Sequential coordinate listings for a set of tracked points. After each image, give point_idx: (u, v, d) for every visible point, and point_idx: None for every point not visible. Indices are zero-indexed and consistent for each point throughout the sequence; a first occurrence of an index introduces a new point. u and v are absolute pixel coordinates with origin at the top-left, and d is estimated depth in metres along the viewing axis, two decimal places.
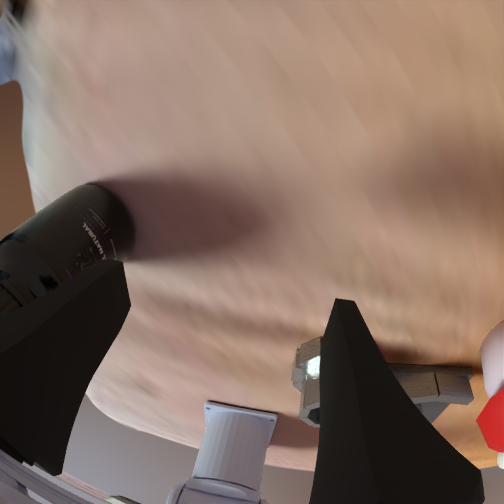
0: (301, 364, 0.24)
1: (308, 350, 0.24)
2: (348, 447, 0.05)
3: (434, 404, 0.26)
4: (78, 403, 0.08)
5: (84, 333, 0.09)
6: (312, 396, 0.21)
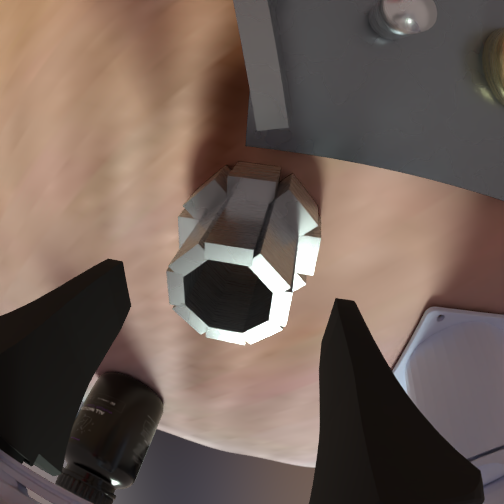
0: None
1: None
2: (348, 447, 0.05)
3: None
4: (78, 403, 0.08)
5: (84, 333, 0.09)
6: None
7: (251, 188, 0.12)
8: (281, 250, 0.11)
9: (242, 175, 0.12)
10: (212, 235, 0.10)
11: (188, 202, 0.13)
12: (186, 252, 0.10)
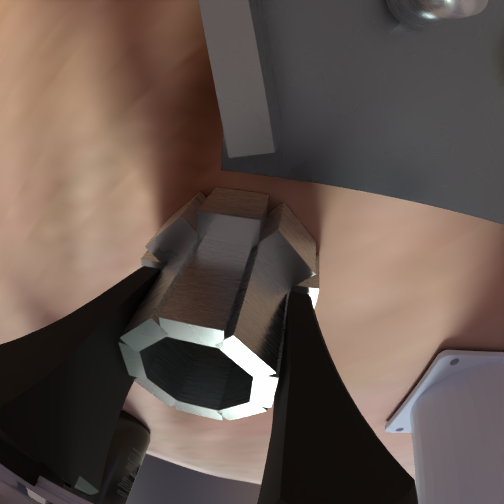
0: None
1: None
2: (278, 440, 0.06)
3: None
4: (116, 418, 0.08)
5: None
6: None
7: (228, 228, 0.10)
8: (265, 318, 0.08)
9: (217, 210, 0.10)
10: (170, 305, 0.07)
11: (151, 242, 0.10)
12: (138, 325, 0.07)
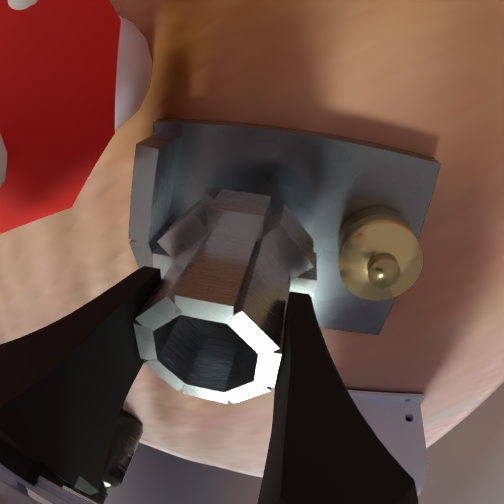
0: None
1: None
2: (278, 440, 0.06)
3: (259, 171, 0.14)
4: (116, 418, 0.08)
5: (124, 345, 0.08)
6: None
7: (234, 223, 0.11)
8: (269, 301, 0.09)
9: (224, 207, 0.11)
10: (184, 285, 0.08)
11: (163, 238, 0.11)
12: (154, 305, 0.08)
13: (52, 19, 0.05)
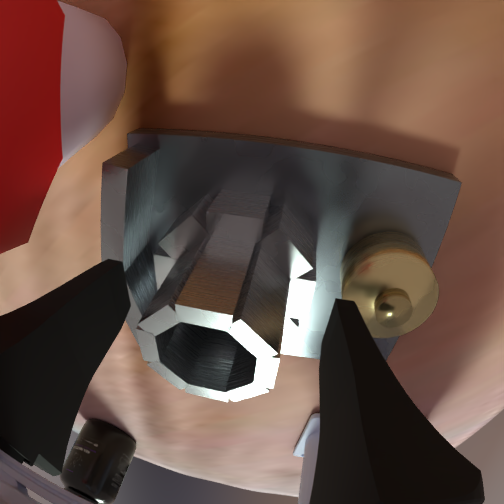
0: None
1: None
2: (348, 447, 0.05)
3: (249, 191, 0.12)
4: (79, 403, 0.08)
5: (84, 333, 0.09)
6: None
7: (234, 226, 0.11)
8: (268, 306, 0.09)
9: (224, 210, 0.11)
10: (185, 293, 0.08)
11: (163, 240, 0.11)
12: (155, 312, 0.08)
13: None
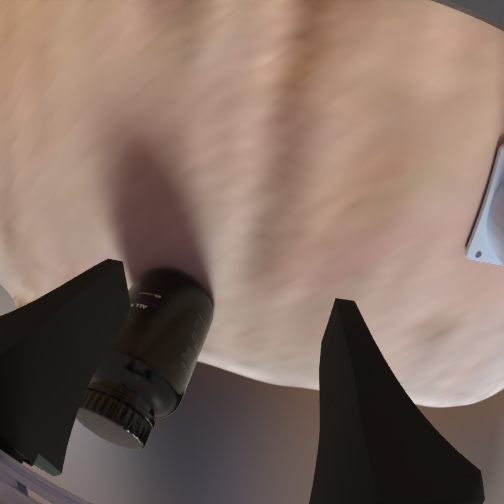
0: None
1: None
2: (348, 447, 0.05)
3: None
4: (78, 403, 0.08)
5: (84, 333, 0.09)
6: None
7: None
8: None
9: None
10: None
11: None
12: None
13: None
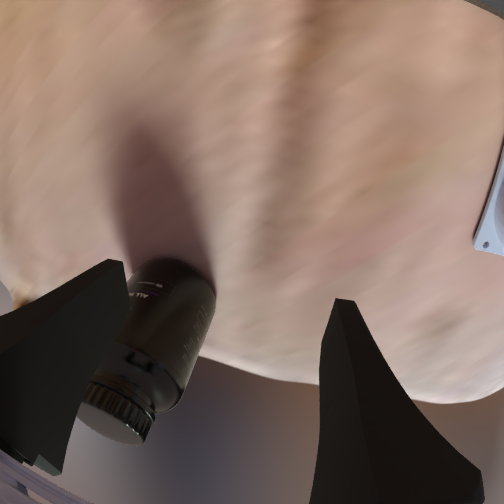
0: None
1: None
2: (348, 447, 0.05)
3: None
4: (79, 403, 0.08)
5: (84, 333, 0.09)
6: None
7: None
8: None
9: None
10: None
11: None
12: None
13: None
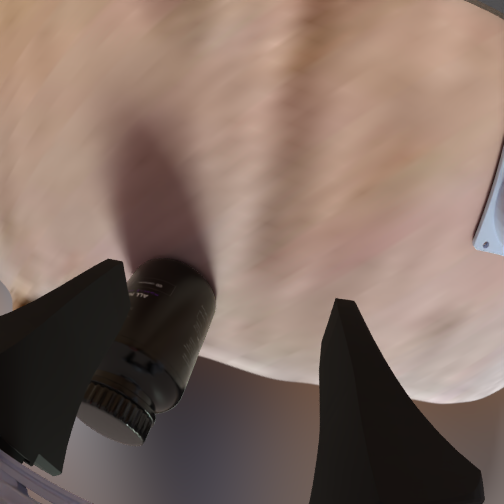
0: None
1: None
2: (348, 447, 0.05)
3: None
4: (79, 403, 0.08)
5: (84, 333, 0.09)
6: None
7: None
8: None
9: None
10: None
11: None
12: None
13: None
